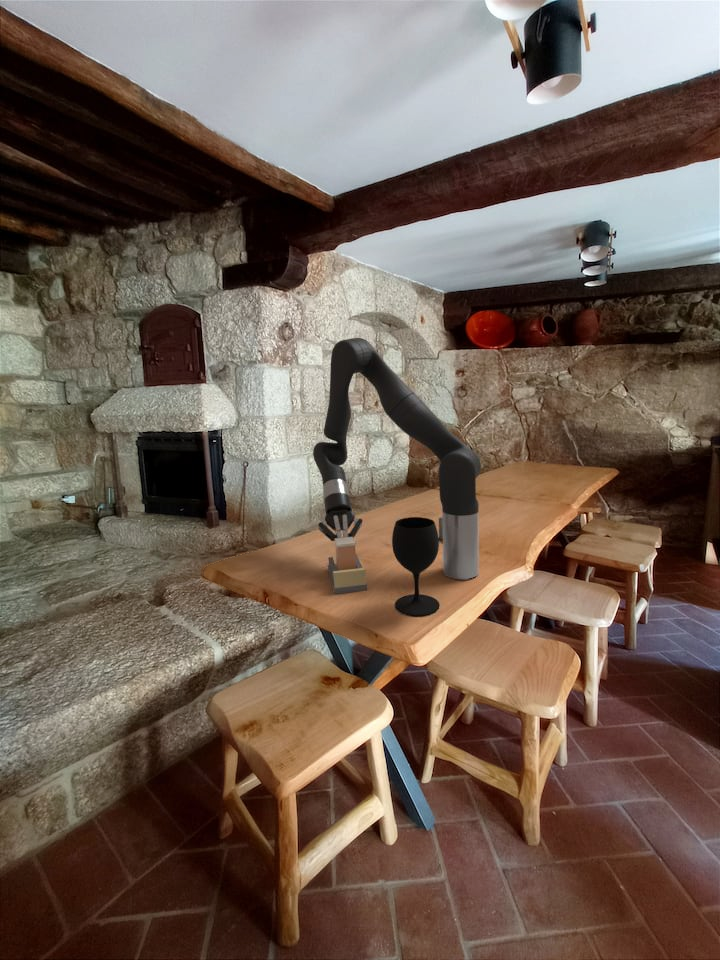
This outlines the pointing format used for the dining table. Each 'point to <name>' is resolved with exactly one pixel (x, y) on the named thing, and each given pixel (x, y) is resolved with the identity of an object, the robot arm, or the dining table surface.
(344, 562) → the block
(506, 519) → the dining table surface
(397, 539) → the wine glass
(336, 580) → the key track
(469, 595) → the dining table surface
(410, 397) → the robot arm
